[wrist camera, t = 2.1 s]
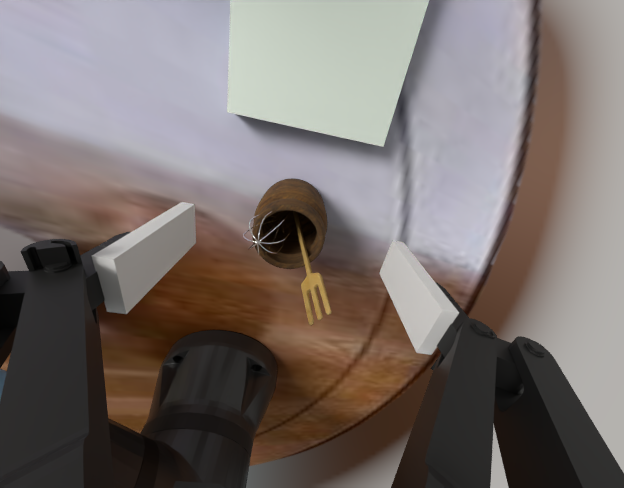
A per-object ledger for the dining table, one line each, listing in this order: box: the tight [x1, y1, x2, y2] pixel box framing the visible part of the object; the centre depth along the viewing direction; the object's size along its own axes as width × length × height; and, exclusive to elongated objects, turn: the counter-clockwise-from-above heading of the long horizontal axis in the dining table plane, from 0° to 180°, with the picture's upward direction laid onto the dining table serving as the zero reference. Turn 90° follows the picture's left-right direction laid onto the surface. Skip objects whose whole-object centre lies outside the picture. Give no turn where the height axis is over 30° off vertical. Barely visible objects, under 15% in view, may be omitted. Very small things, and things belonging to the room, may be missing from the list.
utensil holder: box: [243, 179, 331, 325], centre depth 17 cm, size 6×6×12 cm
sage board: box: [227, 0, 429, 147], centre depth 15 cm, size 14×12×2 cm
